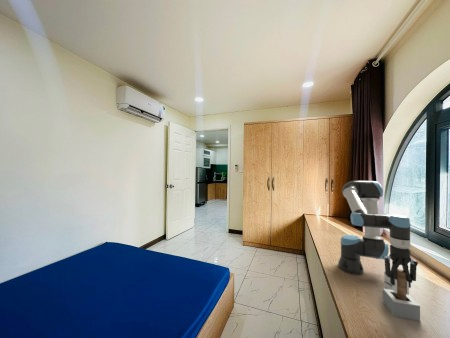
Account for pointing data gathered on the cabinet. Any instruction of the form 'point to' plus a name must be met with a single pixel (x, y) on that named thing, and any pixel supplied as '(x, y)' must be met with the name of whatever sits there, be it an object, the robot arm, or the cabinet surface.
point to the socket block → (401, 305)
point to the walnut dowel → (401, 285)
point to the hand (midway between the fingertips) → (400, 292)
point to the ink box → (387, 282)
